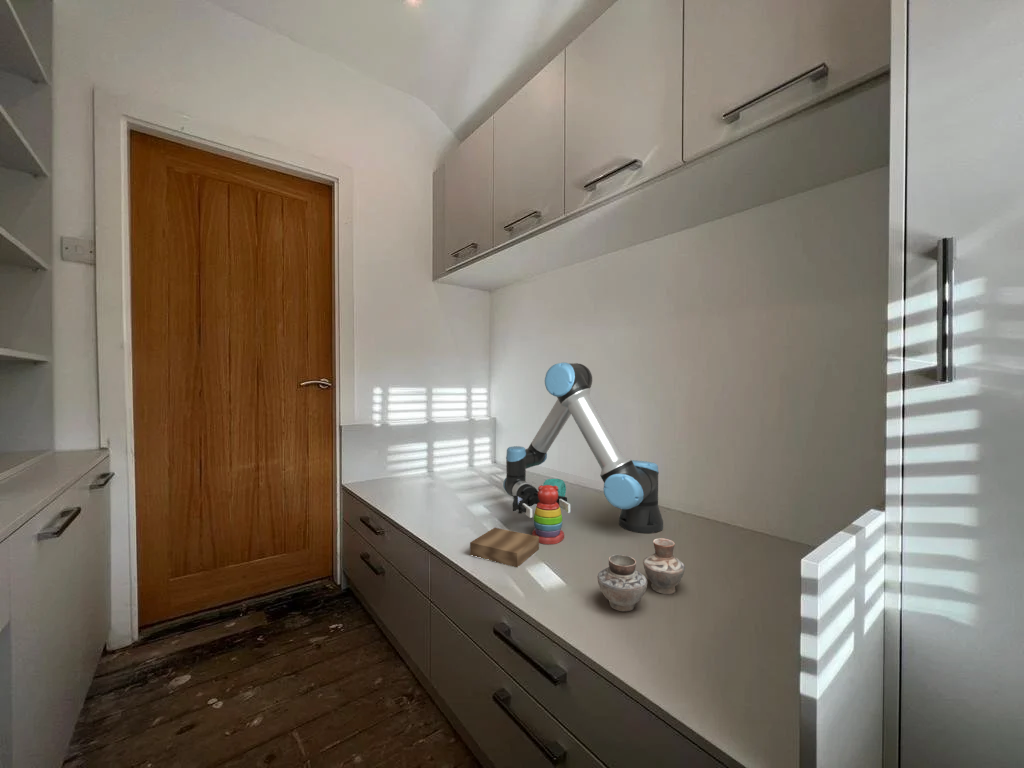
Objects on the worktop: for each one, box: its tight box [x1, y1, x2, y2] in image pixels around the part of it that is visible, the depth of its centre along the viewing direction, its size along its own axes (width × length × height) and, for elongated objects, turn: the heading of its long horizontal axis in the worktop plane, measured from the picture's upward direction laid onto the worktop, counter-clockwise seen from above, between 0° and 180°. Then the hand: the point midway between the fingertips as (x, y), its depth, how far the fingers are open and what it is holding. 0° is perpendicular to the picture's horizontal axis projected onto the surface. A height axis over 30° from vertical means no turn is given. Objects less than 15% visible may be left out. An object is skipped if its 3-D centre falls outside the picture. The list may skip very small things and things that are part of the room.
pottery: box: [597, 537, 686, 612], centre depth 103 cm, size 11×25×12 cm, turn 121°
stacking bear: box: [531, 485, 565, 545], centre depth 139 cm, size 11×10×18 cm
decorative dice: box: [542, 478, 567, 497], centre depth 183 cm, size 8×8×8 cm
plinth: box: [469, 527, 540, 568], centre depth 128 cm, size 16×14×4 cm
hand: (550, 510), depth 137 cm, fingers open, 13 cm apart
